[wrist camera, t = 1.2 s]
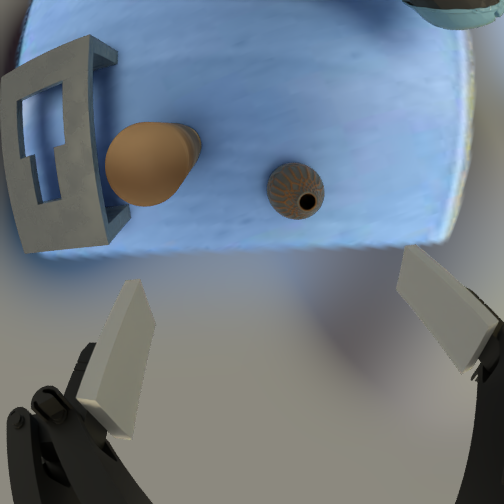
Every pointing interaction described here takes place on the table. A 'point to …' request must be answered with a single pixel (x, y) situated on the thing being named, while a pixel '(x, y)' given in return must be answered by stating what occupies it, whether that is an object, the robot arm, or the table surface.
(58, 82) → the keyhole plate
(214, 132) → the table surface
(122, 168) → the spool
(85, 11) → the table surface
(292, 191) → the vase
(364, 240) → the table surface
